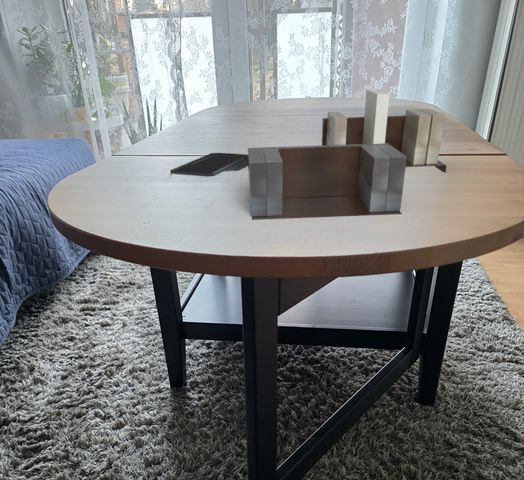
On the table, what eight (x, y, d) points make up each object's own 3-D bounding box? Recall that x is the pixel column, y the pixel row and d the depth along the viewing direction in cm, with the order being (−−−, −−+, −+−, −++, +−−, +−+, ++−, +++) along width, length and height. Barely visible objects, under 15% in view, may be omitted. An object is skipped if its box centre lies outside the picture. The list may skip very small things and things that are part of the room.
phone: (253, 154, 86) (212, 174, 74) (253, 161, 87) (213, 182, 75) (212, 152, 89) (166, 170, 77) (213, 159, 89) (167, 178, 78)
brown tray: (426, 159, 85) (434, 107, 81) (445, 172, 78) (455, 115, 74) (320, 163, 85) (322, 111, 81) (329, 176, 77) (332, 119, 73)
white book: (371, 156, 84) (377, 89, 78) (382, 166, 78) (389, 93, 72) (361, 157, 84) (366, 89, 78) (371, 166, 78) (377, 94, 72)
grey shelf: (382, 200, 66) (388, 143, 62) (401, 222, 58) (409, 158, 54) (249, 205, 65) (247, 148, 61) (251, 228, 57) (249, 164, 54)
